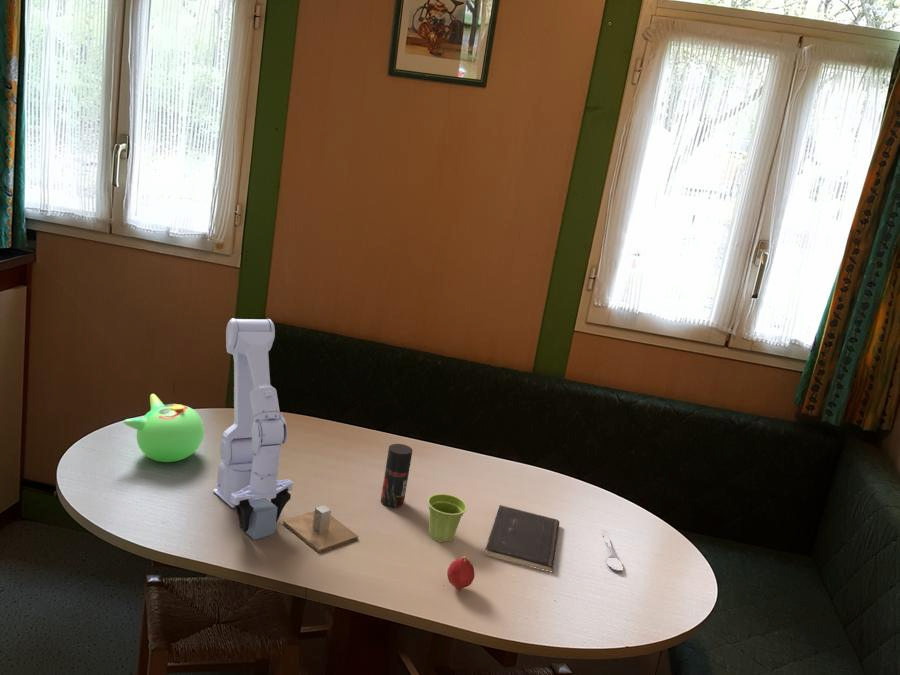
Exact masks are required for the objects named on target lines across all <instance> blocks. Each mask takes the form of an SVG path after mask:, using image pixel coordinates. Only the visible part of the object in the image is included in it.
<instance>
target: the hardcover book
mask: <svg viewBox="0 0 900 675" xmlns="http://www.w3.org/2000/svg"><path fill="white" fill-rule="evenodd" d="M559 528H560V520H559V519H556V518H553V517H548V516H546V515H545V516H544V515H540V514H537V513H533V512H528V511H525V510H520V509H517V508H513V507H509V506H505V505H502V504H499V506H498V510H497V512H496V514H495V519H494V522H493V525H492V528H491V531H490V534H489V538H488V541H487V544H486V547H485V551H486V552H485V553H486V555H485V556H487V557H491V558H496V559H499V560H503V561H506V562H510V563H513V562H515V563H514V564H517V563H518V565H521V564H524V565H523V566H525V565H527V566H526V567H529V566H532V567H536V568H539V569H538V570H540V569H544V570H548V571H552V572H553V570H554V563H555V559H556V558H555V557H556V551H557V550H556V549H557V543H558V535H559ZM532 567H531V568H532ZM536 568H535V569H536ZM544 570H543V571H544Z"/></svg>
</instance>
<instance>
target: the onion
mask: <svg viewBox="0 0 900 675" xmlns="http://www.w3.org/2000/svg"><path fill="white" fill-rule="evenodd" d="M446 573H447V574H446V575H447V580H448V582H449V584H451V585H452V586H453V587H454V588H455V590H457V591H460V590H462V589H464V588H467V587H469V586H471V584H472V583H473V582H474V579H475V576H476V575H475V574H476V572H475V568H474V565H473V564H472V562H471V561H470V560H469V559H467V557H466V555H465V556H462V557H459V558H457V559H455V560H453V561H452V562H450V564H449V566H448V568H447V572H446Z"/></svg>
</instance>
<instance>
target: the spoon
mask: <svg viewBox="0 0 900 675" xmlns="http://www.w3.org/2000/svg"><path fill="white" fill-rule="evenodd" d="M608 548H610V549H609V550H610V553H611V554H610V555H609V556H608V557H607V558H617V559H619V558H618V556H617V555H616V552H615V551H614V548H613V546H612V547H610V546H609V547H608ZM612 567H613V566H612ZM612 567H611V568H610V569H611V570H614V571H617V572H622V571H623V570H617V569H614V568H615V567H613V568H612Z"/></svg>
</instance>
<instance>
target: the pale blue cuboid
mask: <svg viewBox="0 0 900 675" xmlns="http://www.w3.org/2000/svg"><path fill="white" fill-rule="evenodd" d="M249 502H250V505H251V506H252V507H253V508H254V509H253V511H252V513H251V516H250V520H249V528H248V531H246V532H245V533H246V534H247V535H249V537H250V538H252V540H254V541H255V540H258V539H262V538H265V537H268V536H271V535H275V533H276V524H277V522H276V517H277V509H278V507H277V506H275V505H274V504H273V503H272V502H271V500H270V499H267V498H260V499H256V500H253V501H249Z"/></svg>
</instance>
